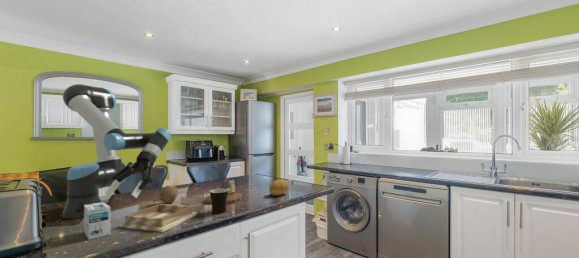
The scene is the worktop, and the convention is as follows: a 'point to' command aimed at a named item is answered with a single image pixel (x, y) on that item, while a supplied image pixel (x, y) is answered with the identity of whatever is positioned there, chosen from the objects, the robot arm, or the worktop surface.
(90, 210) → the light bulb box
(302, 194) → the worktop surface
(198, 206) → the worktop surface
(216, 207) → the coffee mug
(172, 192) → the natural sponge
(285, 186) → the potato
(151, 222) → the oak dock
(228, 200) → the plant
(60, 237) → the worktop surface
